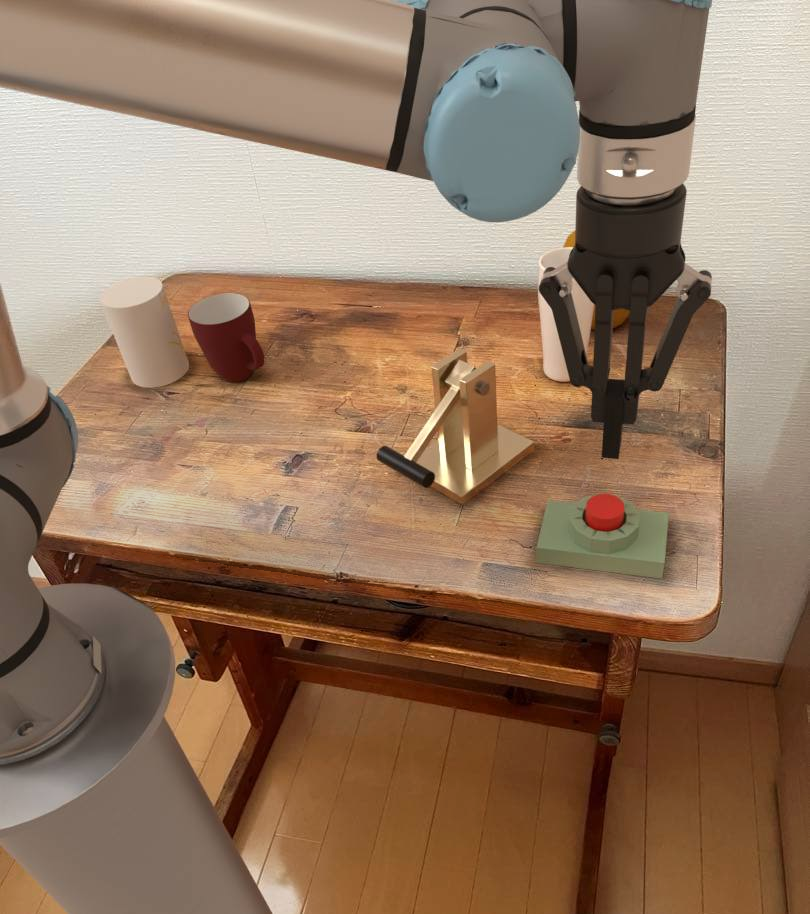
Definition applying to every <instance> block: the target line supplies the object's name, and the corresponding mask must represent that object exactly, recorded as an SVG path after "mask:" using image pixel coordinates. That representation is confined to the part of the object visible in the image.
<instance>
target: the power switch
mask: <svg viewBox="0 0 810 914" xmlns="http://www.w3.org/2000/svg"><path fill="white" fill-rule="evenodd" d="M459 360H461V361H464V362H466V363H468V351H467V350H465V349H463V348H458V349H457V350H455V351H453V352H452V353H450V354H449V355H447V356H445V357H444V358H443V359H441V360H439V361H438V362H436V363H435V364H433V365H431V366H430V367H431V377H432V387H433V388H432V389H433V396H434V397H433V399H434V408H435V410H436V408H437V407H438V405H439V404H440V402H441V401H442V399H443V398H444V396H445V395H446V393H447V392H448V390H449V389H450V387H449V386H448V385H447V384H446V383H445V380H446V379H447V377H448V376H449V374H450V373H451V371H452V370H453V368H454V367H455V365H456V364H457V362H458V361H459ZM496 374H497V373H496V363H495V362H492V361H490V360H486V361H485V362H484V363H482V364H480V365H479V366H478V367H476V369H475V370H474V371H472V372H471V373H469V374H468V375H466V376H465V377H463V378H462V379H460V393H461V397H460V399H459V400H458V402H457V403H456V405H455V406H454V408H453V409H452V411H451V412H450V413H449V415H448V416H447V418H446V419H445V421H444V422H443V424H442V425H441V427H440V428H439V430H438V431H437V439H436V440H435V441H433V442H431V443H429V444H428V446H427V447H426V449H425V450H424V452H423V453H422V455H421V456H420V458H419V459H418V461H417V462H416V463H418V464H419V465H421V466H423V467H425V468H426V469H428V470H430V471H432V472H433V473H434V474H435V480H434V482H433V484H432V485H431V486H430V487H429V488H432V489H434V490H436V491H437V492H438V493H440V494H441V495H442V494H443V495H444V496H446V497H447V498H448V499H451V500H453V501H454V502H456V503H458V504H460V505H461V506H464V505H465V504H466V503H468V502H469V501H470V500H472V499H473V498H475V496H477V495H478V494H479V493H481V492H482V491H483V490H484V489H486V488H487V487H488V486H490V485H491V484H493V482H495V481H496V480H497V479H499V478H500V477H501V476H503V475H504V474H505V473H506V472H508V471H510V470H511V469H512V468H513V467H515V466H516V465H517V464H518V463H520V462H521V461H523V460H524V459H525V458H526V457H527V456H529V455H530V454H531V453H533V452H534V451H535V441H534V440H532V439H530V438H528V437H527V436H523V435H521V434H519V433H517V432H515V431H513V430H511V429H510V428H508V427H505V426H503V425H501V424H499V423H498V403H497V401H498V400H497V375H496Z"/></svg>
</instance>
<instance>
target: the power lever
mask: <svg viewBox="0 0 810 914" xmlns="http://www.w3.org/2000/svg"><path fill="white" fill-rule="evenodd" d="M476 368H477V367H476V365H475V366H474V365H472V364H470V363H468V362H467V363H466V362H464V361H461V360H459V361H458V362H457V364H456V365H455V367H454V368H453V370H452V371H451V373H450V374H449V376H448V377H447V379H446V380H445V383H446V384H447V385H448V386H449V387H450V389H449V390H448V392H447V393H446V395H445V396H444V398H443V399H442V401H441V402H440V404H439V405H438V407H437V408H436V409H435V410H434V411H433V412H432V414H431V416H429V418H428V420H427V421H426V423H425V424H424V425H423V427H422V428H421V430H420V432H419V433H418V434H417V436H416V437H415V439H414V440H413V442H412V444H411V445H410V447H409V448H408V449H407V451H406V452H405V454H404V455H403V454H401V452H398V451H397V450H395V449H393V448H391V447H389V446H388V445H383V446H381V447H380V448H379V449H378V450H377V452H376V460H377V461H378V462H380V463H381V464H383V465H385V466H386V467H388V468H390V469H391V470H393V471H395V472H397V473H399V474H400V475H402V476H404V477H405V478H407V479H408V480H411V481H412V482H414V483H415V484H417V485H419V486H421V487H422V488H424V489H428V488H431V487H430V486H431V485H432V484H433V482H434V480H435V474H434V473H433V472H432V471H430V470H428V469H426V468H425V467H423V466H421V465H419V464H418V463H416V462H417V461H418V459H419V458H420V456H421V455H422V453H423V452H424V450H425V449H426V447H428V446H429V445H430V444H431V443H432V441H433V439H434V437H435V435H436V434H438V430H439V428H440V427H441V425H442V424H443V422H444V421H445V419H446V418H447V416H448V415H449V413H450V412H451V411H452V409H453V408H454V406H455V405H456V403H457V402H458V400H459V399H460V397H461V393H460V379H462V378H463V377H465V376H466V375H468V374H469V373H471V372H472V371H474V370H475V369H476Z"/></svg>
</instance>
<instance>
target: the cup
mask: <svg viewBox="0 0 810 914" xmlns="http://www.w3.org/2000/svg"><path fill="white" fill-rule="evenodd" d="M99 302H100V304H101V307H102V309H103V312H104V314H105V317H106V320H107V322H108V325H109V327H110V329H111V332H112V334H113V337H114V339H115V342H116V344H117V347H118V350H119V352H120V354H121V357H122V359H123V361H124V364H125V367H126V369H127V372H128V375H129V378H130V379H131V382H132V383H133V384H134V385H136V386H138V387H141V388H146V389H150V388H151V389H153V388H154V389H155V388H160V387H164V386H167V385H171V384H173V383H175V382H176V381H178V380H180V379H181V378H183V377H184V376H185V375H186V374H187V372H188V371H189V369H190V362H189V359H188V356H187V353H186V350H185V346H184V344H183V341H182V338H181V336H180V332H179V328H178V327H177V323H176V321H175V317H174V314H173V311H172V309H171V305H170V302H169V299H168V297H167V294H166V291H165V287H164V284H163V283H162V281H161V280H160V279H158V278H156V277H153V276H135V277H130V278H126V279H123V280H120V281H117V282H115V283H113V284H111V285H110V286H108V287H106V288H105V289H104V290H103V291H102V292H101V294H100V296H99Z"/></svg>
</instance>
